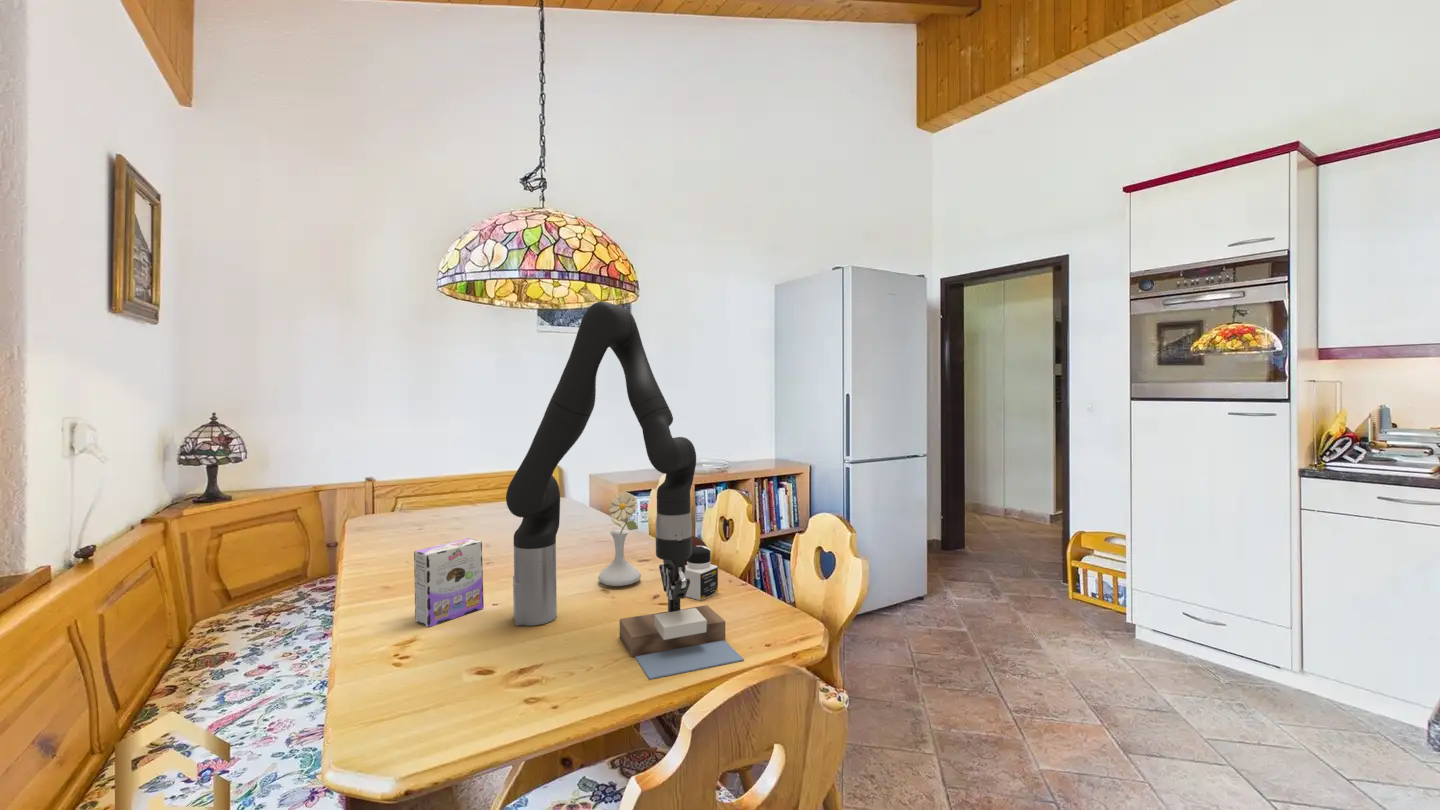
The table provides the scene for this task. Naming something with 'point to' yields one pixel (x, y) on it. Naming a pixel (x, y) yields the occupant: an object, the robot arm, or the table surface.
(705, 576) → the medicine bottle
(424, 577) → the candy box
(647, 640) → the wooden block
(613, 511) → the flower in vase
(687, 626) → the white eraser
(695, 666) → the mat
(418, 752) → the table surface
